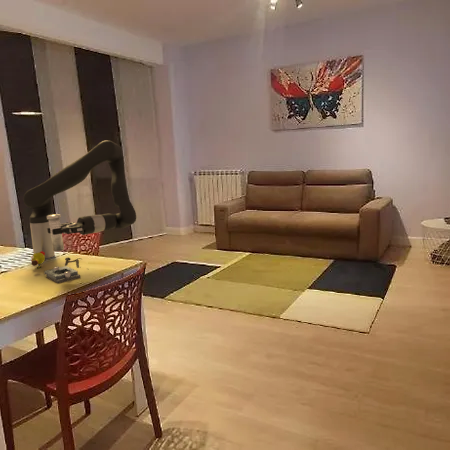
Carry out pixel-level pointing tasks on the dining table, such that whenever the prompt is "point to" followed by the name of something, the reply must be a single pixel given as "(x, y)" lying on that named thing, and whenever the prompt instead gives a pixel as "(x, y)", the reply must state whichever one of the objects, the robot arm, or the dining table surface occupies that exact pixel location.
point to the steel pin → (57, 239)
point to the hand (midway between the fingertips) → (50, 231)
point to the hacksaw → (73, 261)
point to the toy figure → (38, 259)
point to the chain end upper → (56, 270)
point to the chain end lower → (66, 278)
